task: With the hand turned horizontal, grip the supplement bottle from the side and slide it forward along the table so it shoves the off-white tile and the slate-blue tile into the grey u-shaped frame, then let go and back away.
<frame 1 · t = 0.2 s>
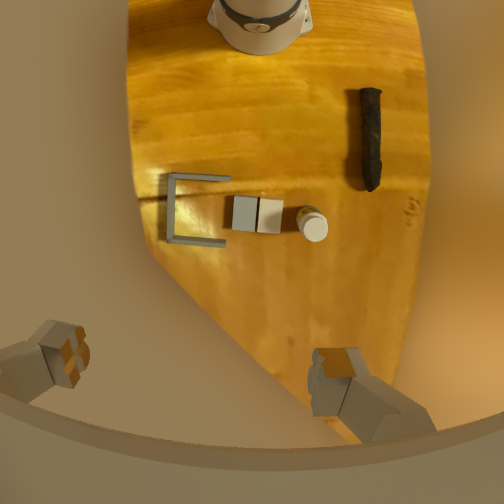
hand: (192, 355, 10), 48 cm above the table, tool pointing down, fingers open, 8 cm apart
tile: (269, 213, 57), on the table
grey u-shaped frame: (199, 208, 57), on the table
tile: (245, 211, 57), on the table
hand tool: (370, 139, 53), on the table
supplement bottle: (307, 217, 57), on the table
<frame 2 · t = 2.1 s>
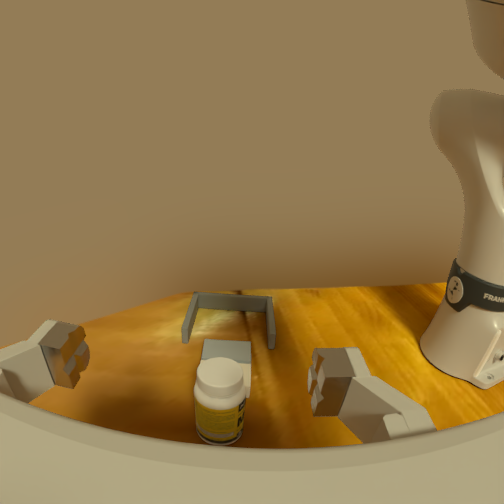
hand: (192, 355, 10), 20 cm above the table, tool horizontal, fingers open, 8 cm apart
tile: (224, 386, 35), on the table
grey u-shaped frame: (230, 325, 47), on the table
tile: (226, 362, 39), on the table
supplement bottle: (219, 430, 28), on the table
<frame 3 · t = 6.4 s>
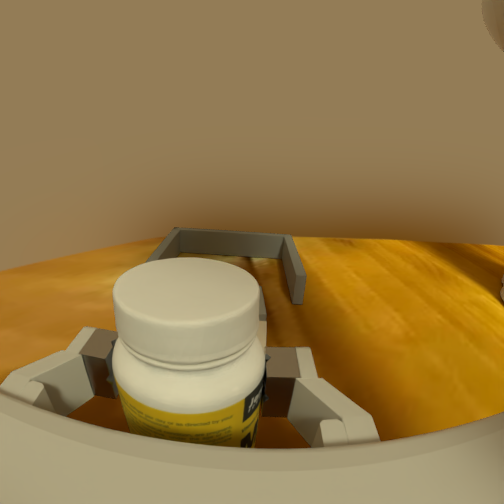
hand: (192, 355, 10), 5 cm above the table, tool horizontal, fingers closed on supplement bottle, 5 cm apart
grey u-shaped frame: (227, 272, 30), on the table
supplement bottle: (196, 460, 11), on the table, touching gripper
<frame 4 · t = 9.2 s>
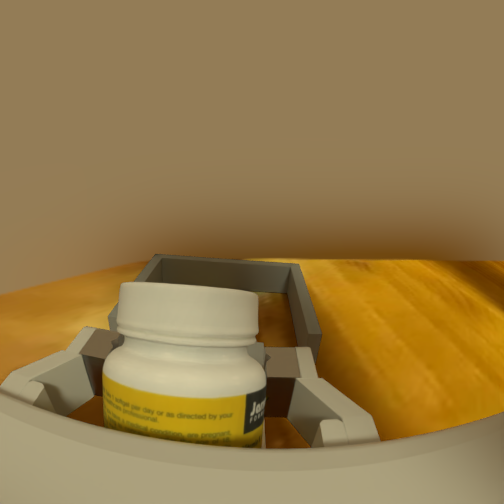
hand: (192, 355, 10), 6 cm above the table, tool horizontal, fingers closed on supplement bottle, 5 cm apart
grey u-shaped frame: (219, 316, 23), on the table
when the fingers open (6 cm above the table, at t = 10.1 s): supplement bottle stays where it is, point 2 cm above the table.
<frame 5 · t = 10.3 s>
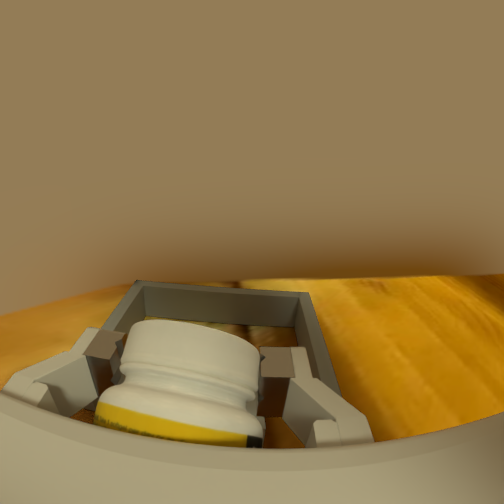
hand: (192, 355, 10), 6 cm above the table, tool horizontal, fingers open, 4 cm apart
grey u-shaped frame: (211, 362, 18), on the table
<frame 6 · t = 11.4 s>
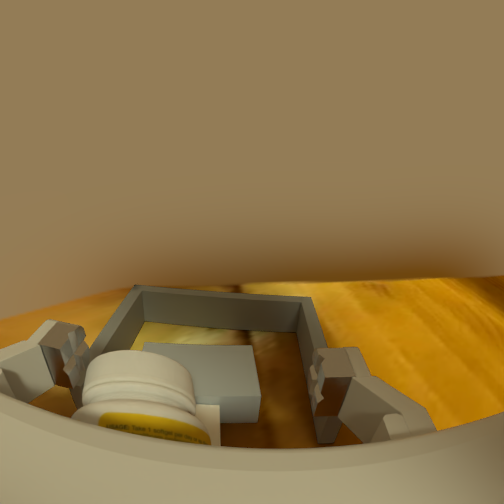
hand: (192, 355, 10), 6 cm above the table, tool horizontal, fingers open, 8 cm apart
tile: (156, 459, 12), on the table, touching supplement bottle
grey u-shaped frame: (212, 369, 18), on the table
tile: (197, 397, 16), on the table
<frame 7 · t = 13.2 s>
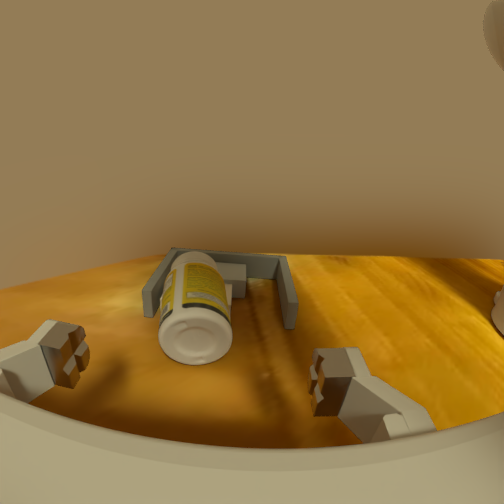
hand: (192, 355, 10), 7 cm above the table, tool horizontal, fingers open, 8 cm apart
grey u-shaped frame: (223, 294, 31), on the table
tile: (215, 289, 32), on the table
supplement bottle: (195, 345, 19), point 2 cm above the table, touching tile
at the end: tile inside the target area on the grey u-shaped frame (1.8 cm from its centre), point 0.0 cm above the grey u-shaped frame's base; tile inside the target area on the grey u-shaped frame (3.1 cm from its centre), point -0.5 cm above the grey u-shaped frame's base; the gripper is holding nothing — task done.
